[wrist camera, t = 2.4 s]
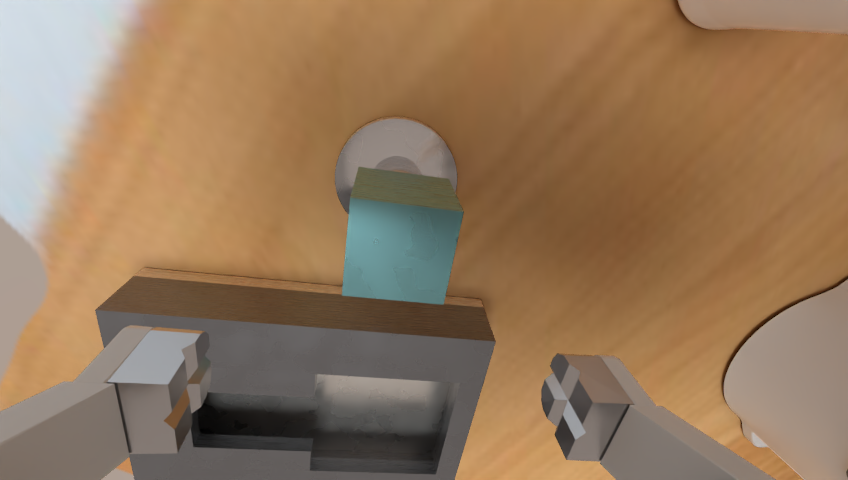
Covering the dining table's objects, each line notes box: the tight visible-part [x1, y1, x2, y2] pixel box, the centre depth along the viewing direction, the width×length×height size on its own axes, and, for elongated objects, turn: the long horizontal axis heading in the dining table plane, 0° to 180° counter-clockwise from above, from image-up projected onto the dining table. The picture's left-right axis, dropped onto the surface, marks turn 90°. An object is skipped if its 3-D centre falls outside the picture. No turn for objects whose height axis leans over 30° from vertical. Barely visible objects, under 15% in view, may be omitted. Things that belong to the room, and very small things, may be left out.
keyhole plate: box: [95, 268, 496, 480], centre depth 28 cm, size 22×16×4 cm
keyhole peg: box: [335, 116, 464, 305], centre depth 19 cm, size 7×7×10 cm
